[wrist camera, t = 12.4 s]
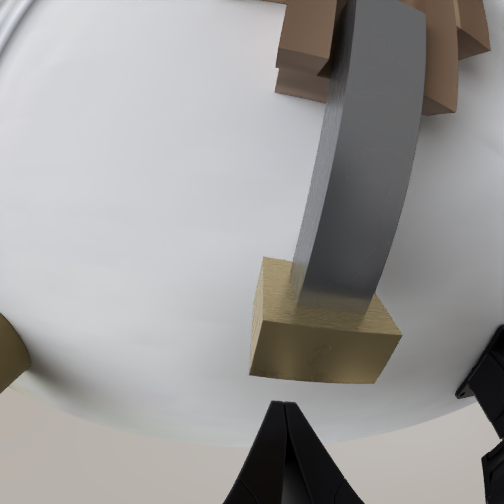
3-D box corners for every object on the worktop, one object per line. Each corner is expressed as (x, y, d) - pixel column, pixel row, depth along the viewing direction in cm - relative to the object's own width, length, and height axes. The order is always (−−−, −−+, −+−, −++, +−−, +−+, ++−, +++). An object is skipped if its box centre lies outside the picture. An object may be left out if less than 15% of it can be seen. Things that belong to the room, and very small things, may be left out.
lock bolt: (407, 51, 5) (466, 20, 2) (346, 315, 8) (374, 383, 5) (308, 17, 5) (330, -43, 2) (254, 302, 8) (249, 374, 5)
